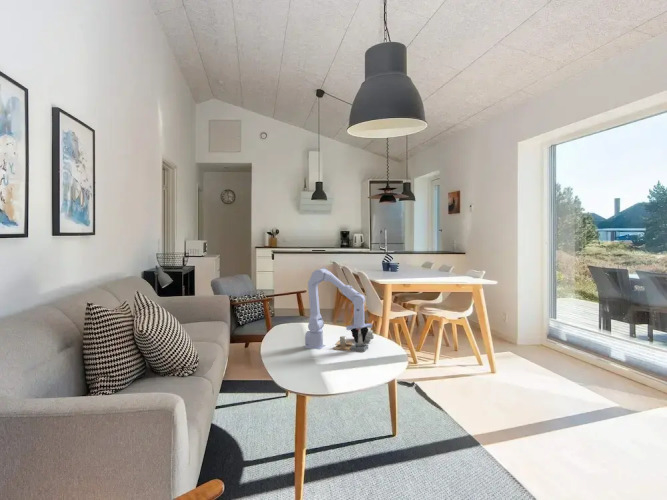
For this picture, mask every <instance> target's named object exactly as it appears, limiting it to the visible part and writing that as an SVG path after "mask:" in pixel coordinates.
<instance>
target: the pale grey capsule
mask: <svg viewBox="0 0 667 500" xmlns="http://www.w3.org/2000/svg"><path fill="white" fill-rule="evenodd" d="M355 343H356V342H355ZM363 344H364V342H363V336H362V334H358V343H356V345H357V346H362V345H363Z"/></svg>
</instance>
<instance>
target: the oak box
mask: <svg viewBox="0 0 667 500" xmlns="http://www.w3.org/2000/svg"><path fill="white" fill-rule="evenodd" d="M354 344H355V343H352V344H346V347H345V348H341V347H340V344H338V345H336V346H334V347H333V349H334V350H335V351H336V350H337V351H343V352H344V351H346V352H347V351H348V352H350V351H351V346H353V345H354ZM351 352H352V351H351Z"/></svg>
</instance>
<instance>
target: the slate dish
mask: <svg viewBox="0 0 667 500" xmlns="http://www.w3.org/2000/svg"><path fill="white" fill-rule="evenodd" d="M353 344H354V345H353V346H351V352H360V353H364V352H366V351H367V350H369V344H368V343H367V344H364V343H363V345H362V346H357V345H356V342H354V343H353Z"/></svg>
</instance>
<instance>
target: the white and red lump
mask: <svg viewBox="0 0 667 500" xmlns="http://www.w3.org/2000/svg"><path fill="white" fill-rule="evenodd" d="M367 329H368V332H367V334H366V337H365V341H364V342H363V343H369V342H370V341H372V340H373V339H374V334H373V333H374V331H373V330H372V329H371V328H367ZM357 331H359V332H358V334H361V329H357ZM351 336H352V337H353V338H354V336H353V334H352V333H351Z"/></svg>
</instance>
